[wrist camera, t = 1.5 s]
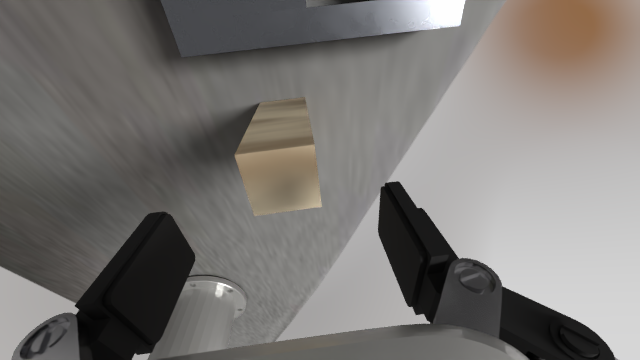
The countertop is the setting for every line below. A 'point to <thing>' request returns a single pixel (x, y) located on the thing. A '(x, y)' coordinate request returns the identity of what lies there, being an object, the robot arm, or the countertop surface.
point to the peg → (279, 158)
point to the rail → (296, 22)
